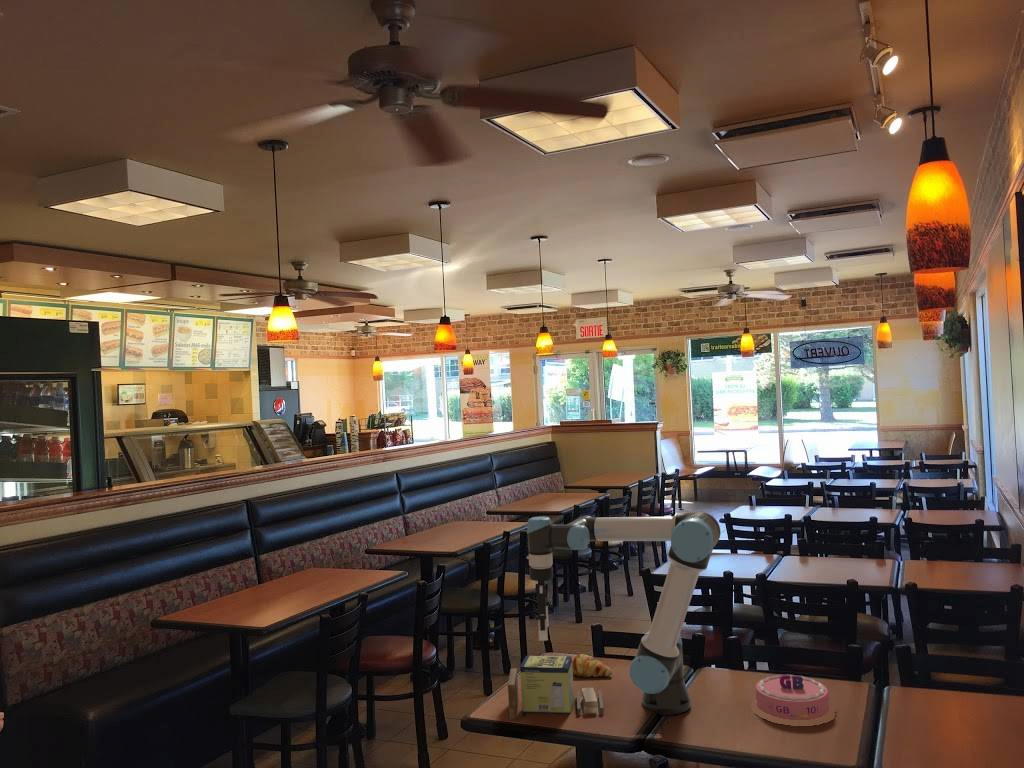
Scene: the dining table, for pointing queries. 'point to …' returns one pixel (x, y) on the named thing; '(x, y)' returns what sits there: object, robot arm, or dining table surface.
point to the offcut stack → (589, 700)
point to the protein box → (547, 684)
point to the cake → (792, 697)
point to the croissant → (589, 667)
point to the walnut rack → (515, 700)
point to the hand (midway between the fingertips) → (543, 633)
